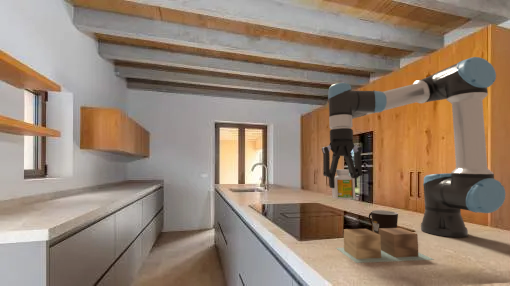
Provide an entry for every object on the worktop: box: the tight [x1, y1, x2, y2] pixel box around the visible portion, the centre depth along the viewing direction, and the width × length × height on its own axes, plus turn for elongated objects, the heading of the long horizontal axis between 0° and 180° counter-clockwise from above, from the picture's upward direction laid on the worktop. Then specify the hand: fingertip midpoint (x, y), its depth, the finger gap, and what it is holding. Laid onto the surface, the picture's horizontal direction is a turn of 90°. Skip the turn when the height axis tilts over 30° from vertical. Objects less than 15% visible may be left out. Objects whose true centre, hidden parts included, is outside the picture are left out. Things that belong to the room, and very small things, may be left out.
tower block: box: [379, 227, 419, 257], centre depth 74 cm, size 7×7×6 cm
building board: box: [335, 247, 435, 264], centre depth 73 cm, size 22×12×2 cm, turn 97°
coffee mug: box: [368, 209, 399, 234], centre depth 92 cm, size 12×9×10 cm
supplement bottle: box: [335, 169, 353, 201], centre depth 87 cm, size 5×5×10 cm
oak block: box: [343, 228, 381, 259], centre depth 72 cm, size 7×7×6 cm
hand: (343, 197), depth 86 cm, fingers closed on supplement bottle, 5 cm apart
